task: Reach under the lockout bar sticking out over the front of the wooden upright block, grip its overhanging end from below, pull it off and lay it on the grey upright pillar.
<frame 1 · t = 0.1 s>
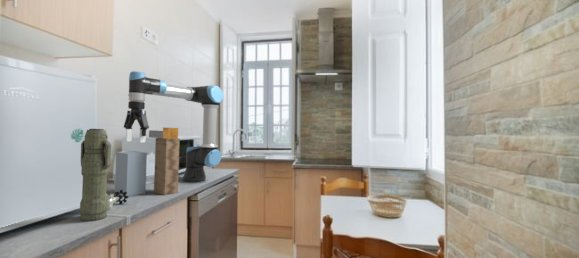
hand: (135, 141, 150), 28 cm above the worktop, tool pointing down, fingers open, 13 cm apart
lockout bar: (162, 138, 161), point 30 cm above the worktop, touching wooden upright block
thermos: (93, 218, 112), on the worktop
valve: (113, 207, 127), on the worktop
grey upright pillar: (130, 193, 154), on the worktop
wooden upright block: (165, 192, 158), on the worktop
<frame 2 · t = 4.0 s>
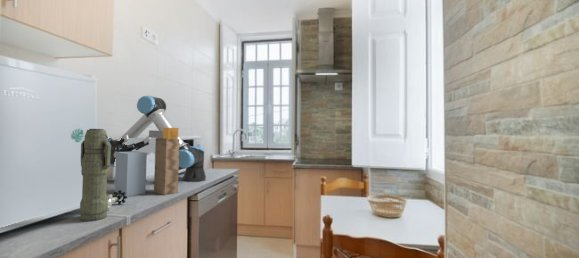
hand: (139, 137, 174), 30 cm above the worktop, tool pointing upward, fingers open, 13 cm apart
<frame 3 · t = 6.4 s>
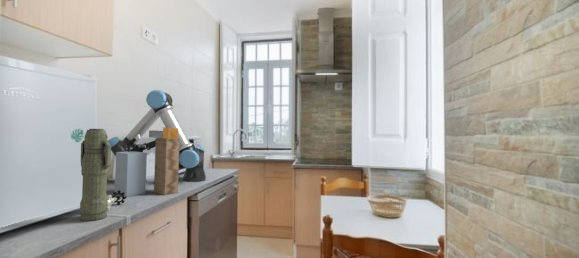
hand: (151, 136, 166), 31 cm above the worktop, tool pointing upward, fingers open, 13 cm apart
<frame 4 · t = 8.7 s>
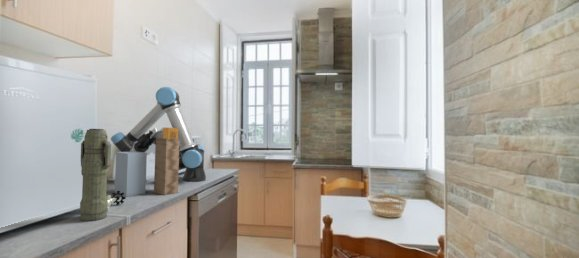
hand: (160, 129, 162), 35 cm above the worktop, tool pointing upward, fingers closed on lockout bar, 4 cm apart
lockout bar: (162, 138, 161), point 30 cm above the worktop, touching gripper, wooden upright block
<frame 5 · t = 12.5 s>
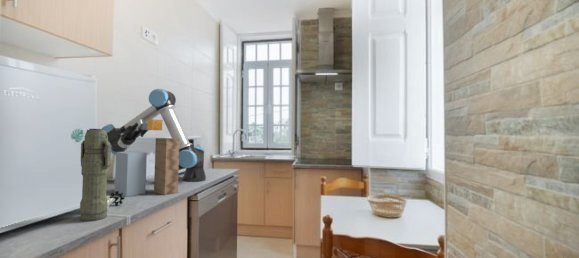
hand: (145, 121, 167), 39 cm above the worktop, tool pointing upward, fingers closed on lockout bar, 4 cm apart
lockout bar: (147, 129, 166), point 34 cm above the worktop, touching gripper
when the fingers open (29 cm above the worktop, at t = 16.4 s): lockout bar drops 2 cm, resting on grey upright pillar.
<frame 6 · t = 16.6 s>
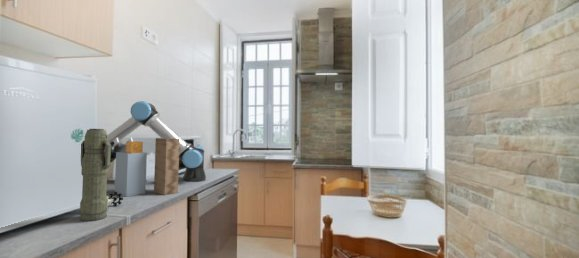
hand: (124, 139, 158), 28 cm above the worktop, tool pointing upward, fingers open, 7 cm apart
lockout bar: (126, 151, 156), point 22 cm above the worktop, touching grey upright pillar
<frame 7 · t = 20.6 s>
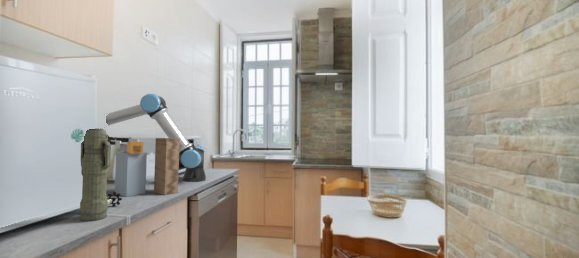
hand: (129, 142, 168), 27 cm above the worktop, tool horizontal, fingers open, 13 cm apart
lockout bar: (129, 152, 155), point 22 cm above the worktop, touching grey upright pillar
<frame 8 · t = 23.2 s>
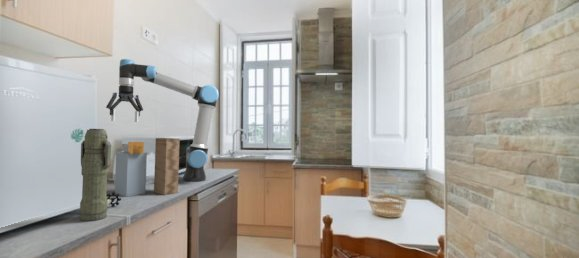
hand: (125, 121, 169), 39 cm above the worktop, tool pointing down, fingers open, 13 cm apart
at the end: lockout bar inside the target area on the grey upright pillar (3.2 cm from its centre), point 22.0 cm above the grey upright pillar's base; lockout bar tilted 0°; the gripper is holding nothing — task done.
